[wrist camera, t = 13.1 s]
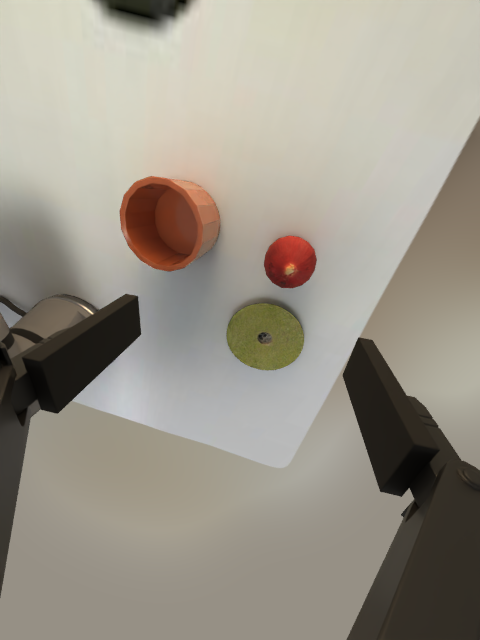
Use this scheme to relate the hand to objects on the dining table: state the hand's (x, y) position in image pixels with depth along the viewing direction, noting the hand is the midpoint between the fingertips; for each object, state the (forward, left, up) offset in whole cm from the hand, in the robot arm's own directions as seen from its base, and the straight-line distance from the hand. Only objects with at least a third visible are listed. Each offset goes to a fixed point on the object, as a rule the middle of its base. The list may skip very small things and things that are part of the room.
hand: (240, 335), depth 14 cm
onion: (+3, +1, -20) cm, 20 cm away
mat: (+2, -11, -20) cm, 23 cm away
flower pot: (-11, +3, -20) cm, 23 cm away
